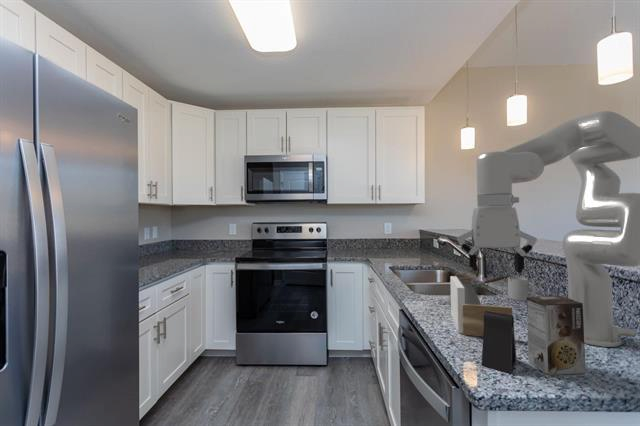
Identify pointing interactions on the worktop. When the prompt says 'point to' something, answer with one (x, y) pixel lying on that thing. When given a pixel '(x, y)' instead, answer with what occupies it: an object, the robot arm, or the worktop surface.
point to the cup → (520, 288)
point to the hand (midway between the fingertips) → (495, 271)
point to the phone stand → (499, 342)
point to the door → (479, 317)
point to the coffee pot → (469, 290)
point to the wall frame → (457, 302)
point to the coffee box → (556, 335)
